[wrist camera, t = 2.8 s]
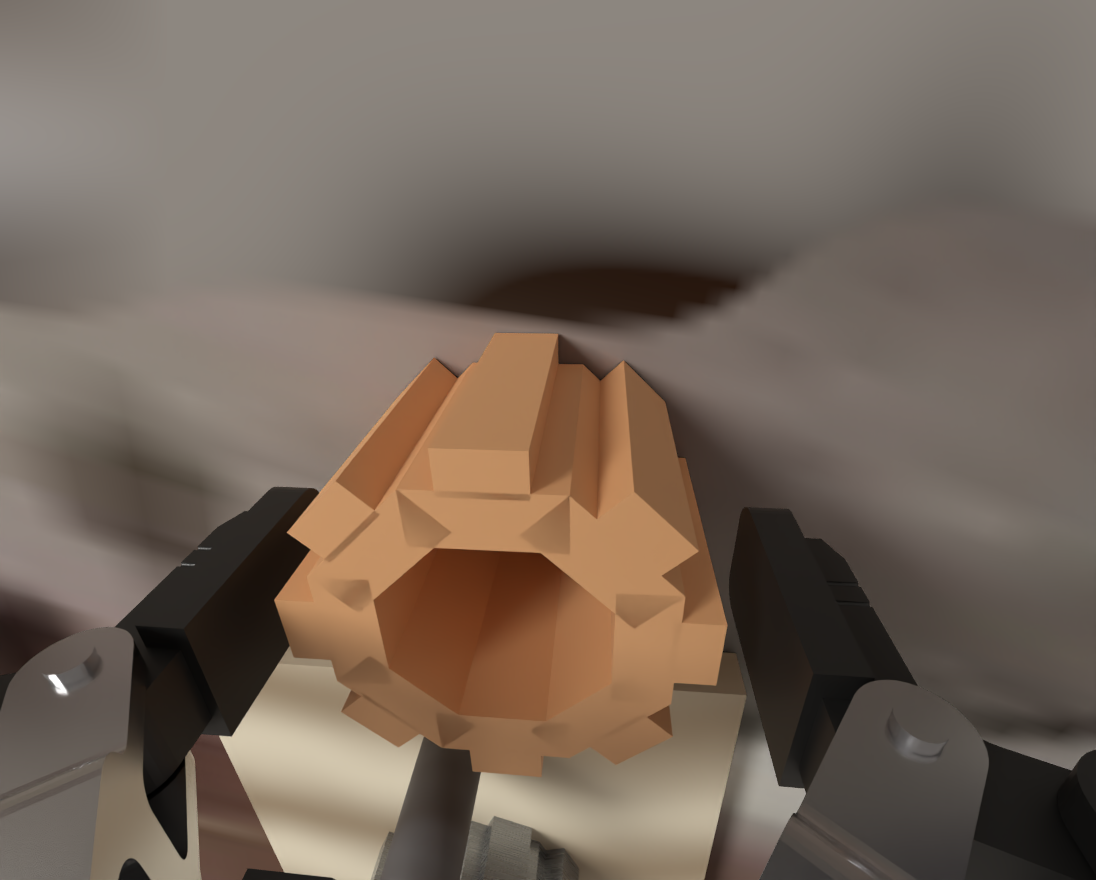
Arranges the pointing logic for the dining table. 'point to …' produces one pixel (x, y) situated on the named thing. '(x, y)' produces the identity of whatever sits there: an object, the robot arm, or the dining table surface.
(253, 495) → the dining table surface
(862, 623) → the robot arm
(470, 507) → the gear
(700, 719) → the peg board
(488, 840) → the gear
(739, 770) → the dining table surface
